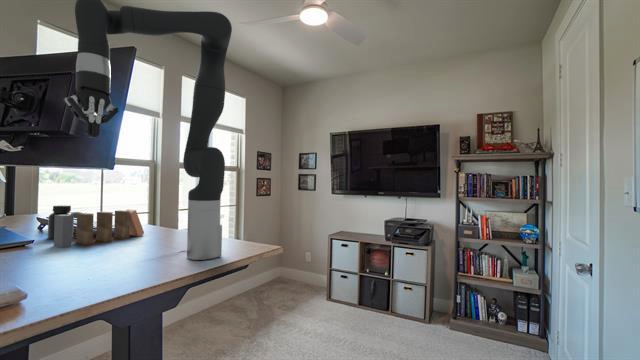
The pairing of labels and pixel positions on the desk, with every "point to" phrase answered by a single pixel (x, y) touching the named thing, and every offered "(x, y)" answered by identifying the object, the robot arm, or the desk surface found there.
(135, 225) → the domino
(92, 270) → the desk surface
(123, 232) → the domino
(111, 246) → the desk surface
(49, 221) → the supplement bottle
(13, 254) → the desk surface
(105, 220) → the domino
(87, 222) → the domino
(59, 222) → the end domino
